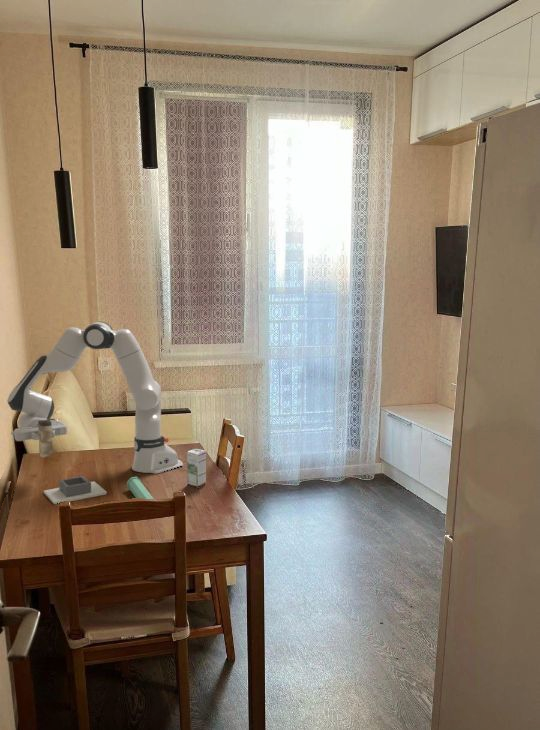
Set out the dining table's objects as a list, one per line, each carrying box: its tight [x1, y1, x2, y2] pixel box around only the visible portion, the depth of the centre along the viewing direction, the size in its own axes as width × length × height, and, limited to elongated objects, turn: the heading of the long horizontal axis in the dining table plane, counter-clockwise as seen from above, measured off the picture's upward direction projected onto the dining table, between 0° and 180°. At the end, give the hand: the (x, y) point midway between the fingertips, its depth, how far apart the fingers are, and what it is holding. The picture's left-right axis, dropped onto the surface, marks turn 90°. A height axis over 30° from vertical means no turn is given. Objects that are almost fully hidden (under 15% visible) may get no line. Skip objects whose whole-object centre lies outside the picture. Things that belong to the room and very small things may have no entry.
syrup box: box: [186, 448, 207, 486], centre depth 247 cm, size 6×6×14 cm
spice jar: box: [38, 420, 53, 459], centre depth 239 cm, size 4×4×14 cm
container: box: [126, 476, 155, 500], centre depth 229 cm, size 6×6×25 cm
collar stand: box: [43, 475, 108, 505], centre depth 234 cm, size 20×14×5 cm
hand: (45, 436), depth 238 cm, fingers closed on spice jar, 4 cm apart
